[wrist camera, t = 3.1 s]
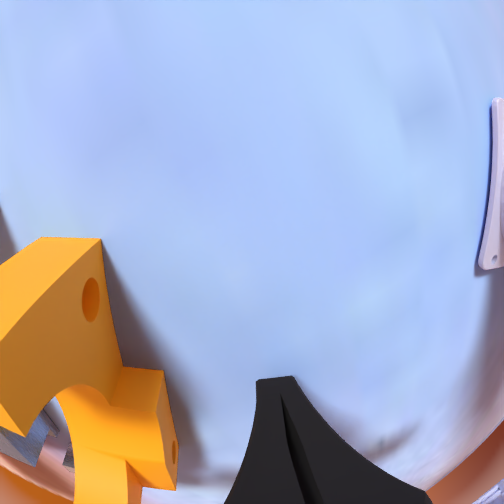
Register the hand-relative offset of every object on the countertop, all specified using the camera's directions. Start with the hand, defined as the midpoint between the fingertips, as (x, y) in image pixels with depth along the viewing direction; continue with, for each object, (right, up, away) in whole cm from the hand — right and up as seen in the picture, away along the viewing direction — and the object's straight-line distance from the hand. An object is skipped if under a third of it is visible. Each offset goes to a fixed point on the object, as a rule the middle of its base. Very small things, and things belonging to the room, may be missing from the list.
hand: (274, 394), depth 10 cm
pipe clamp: (-7, 0, +1) cm, 7 cm away
